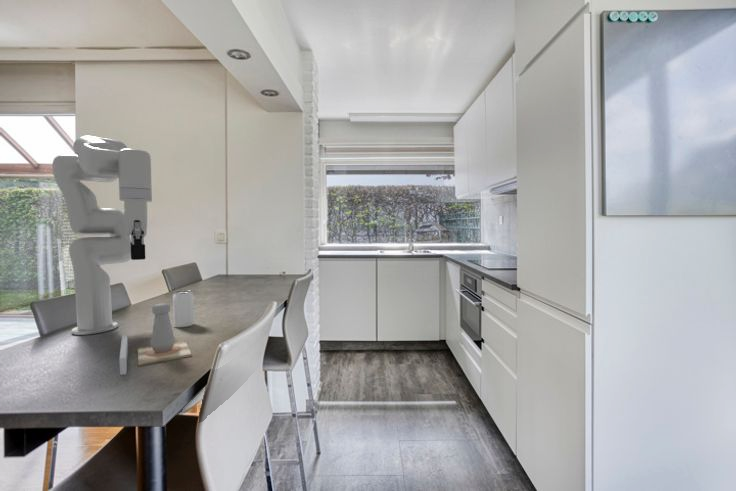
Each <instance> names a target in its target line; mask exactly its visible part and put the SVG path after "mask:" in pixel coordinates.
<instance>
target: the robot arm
mask: <svg viewBox="0 0 736 491" xmlns="http://www.w3.org/2000/svg"><path fill="white" fill-rule="evenodd" d="M72 147H73V152H74V153H75V154H70V153H68V154H61V155H60V154H59V155H57V156H55V157H54V158H53V160H52V165H51V166H52V175H53V178H54V181H55V182H56V185H57V187H58V189H59V190H60V192H61V194H62V196H63V198H64V202H65V206H66V212H67V217H68V222H69V226H70V229H71V232H73V233H74V234H75V235H79V236H87V237H80V238H76V239H74V240H73V241H71V242H70V244H69V246H68V253H69V257H70V262H71V266H72V271H73V280H74V291H75V292H74V293H75V294H74V295H75V296H74V297H75V310H76V311H75V312H76V324H77V326H76V327H73V328H72V329H71V331H70V332H71V334H72V335H75V336H77V335H78V336H84V335H85V336H86V335H95V334H100V333H101V334H102V333H105V332H109V331H112V330H115V329H116V328H118V327H119V323H118V321H117V322H116V321H113V315H112V314H113V310H112V295H111V294H112V292H111V278H110V276H109V273H107V272H106V271H105V270H104V269H103V268H102V266H103V265H114V264H124V263H128V262H129V261H131V260H132V261H136V260H137V261H138V260H142V261H143V260H146V244H145V237H147V233H148V202H150V203H151V202H153V197H152V196H153V193H152V192H153V190H152V188H153V187H152V159H151V157H152V156H151V155H150V153H149V152H147V151H145V150H142V149H136V148H128V147H127V145H126V144H125V143H124V142H122V141H121V140H117V139H113V138H112V139H111V138H105V137H104V138H103V137H100V136H99V137H98V136H94V135H93V136H92V135H83V136H80V137H78V138H77V139H76V140H75V141H74V142H73V145H72ZM116 180H118V193H119V195H118V196H119V201H120V202H121V201H123V202H124V203H123V212H122V211H121V210H120V209H118V208H110V207H109V208H108V207H107V208H106V207H99V205H98V201H97V196H96V194H95V193H94V192H93V191H92V190H91V188H89V187H88V186H87V185H85V184H84V183H83V181H84V182H96V183H97V182H99V183H113V182H115V181H116ZM89 236H91V237H89Z"/></svg>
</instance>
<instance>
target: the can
mask: <svg viewBox="0 0 736 491" xmlns="http://www.w3.org/2000/svg"><path fill="white" fill-rule="evenodd" d="M194 298H195V297H194V294H193V290H190V289H189V290H186V289H185V290H178V291H177V290H176V291H174V292H173V296H172V307H173V309H172V310H173V311H172V312H173V326H174V327H175V328H178V329H179V328H180V329H181V328H189V327H192V326H194V324H195V322H196V321H195V303H194V301H195V299H194Z"/></svg>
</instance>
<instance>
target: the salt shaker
mask: <svg viewBox="0 0 736 491" xmlns="http://www.w3.org/2000/svg"><path fill="white" fill-rule="evenodd" d="M170 311H171V305H170V304H169V303H166V302H161V303H157V304H154V305H153V306H152V311H151V312H152V314H154V319H153V320H154V321H153V327H152V333H151V334H152V335H151V340H150V346H151V347H152V348H153V350H154V352H155V353H164V352H168V351H170V350H172V348H173V346H174V343H175V342H176V340H175V339H176V338H175V336H174V331H173V327H172V323H171V320H170V316H169V312H170Z"/></svg>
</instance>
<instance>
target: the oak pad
mask: <svg viewBox="0 0 736 491" xmlns="http://www.w3.org/2000/svg"><path fill="white" fill-rule="evenodd" d="M189 357H192V352H191V350H190V348H189V346H188V344H187V342H186V340H185V339H184V340H178V341H175V343H174V346H173V348H172V350H170V351H168V352H164V353H155V352H154V350H153V348H152V347H151V345H150V346H143V347H138V348H137V365H138V366H137V367H141V366H147V365H152V364H158V363H163V362H168V361H173V360H178V359H183V358H189Z"/></svg>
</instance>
